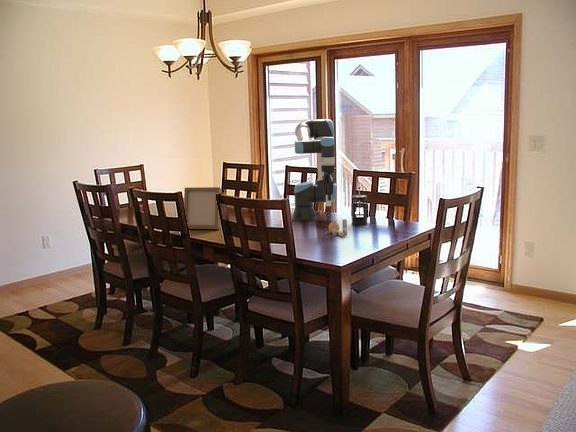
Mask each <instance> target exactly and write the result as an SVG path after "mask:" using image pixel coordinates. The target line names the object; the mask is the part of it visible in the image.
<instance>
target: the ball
mask: <svg viewBox="0 0 576 432" xmlns="http://www.w3.org/2000/svg"><path fill="white" fill-rule="evenodd" d="M328 230H329V232H330V233H332V222H330V223H329V225H328ZM337 230H338V231H340V224H339V223H338V222H337Z"/></svg>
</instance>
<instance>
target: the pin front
mask: <svg viewBox="0 0 576 432" xmlns="http://www.w3.org/2000/svg"><path fill="white" fill-rule="evenodd" d="M337 236H338V237H341V238H345V237H346V235H345V234H344V233H343V231H340V230H339V231H338V230H337Z"/></svg>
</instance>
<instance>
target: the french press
mask: <svg viewBox="0 0 576 432" xmlns="http://www.w3.org/2000/svg"><path fill="white" fill-rule="evenodd" d="M355 187H356V188H358V194H355V195H352V196H351V197H352V200H358V202H356V203H355V202H354V203H351V208H352V218H351V225H352V226H367V225H368V218H369V203H368V202H367V203H366V202H362V201H366V200H367V197H368V196H367V195H364V194H360V191H361V188H363V185H357V186H356V185H355ZM357 208H358V211H357ZM361 208H362V209H363V210H362V211H361Z"/></svg>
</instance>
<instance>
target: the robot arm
mask: <svg viewBox="0 0 576 432" xmlns="http://www.w3.org/2000/svg"><path fill="white" fill-rule="evenodd" d="M334 127H335V126H334V122H333V120H331V119H329V118H323V119H321V118H320V119H305V120H304V121H301V122H300V123H298V124H297V125H296V127H295V129H294V134H295V137H296V138H297V139H296V140H295V141H294V153H295V154H297V155H305V154H308V155H309V154H316V155H317V158H316V159H317V176H318V177H317V179H316V181H315V184H314V182H313V181H305V182H301V183H298V184H295V186H294V192H293V193H294V210H293V214H292V221H295V222H312V221H316V220H317V213H316V211H315V208H314V204H315V203H316V204H317V203H323V204H324V203H325V207H332V203H333V202H335V201H336V198H337V189H338V187H337V186H338V184H337V183H336V182H335V177H334V176H333V173H334V172H336V170H335V169H336V165H335V162H336V159H335V138H334V137H335V128H334ZM311 139H313V140H311Z"/></svg>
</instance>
